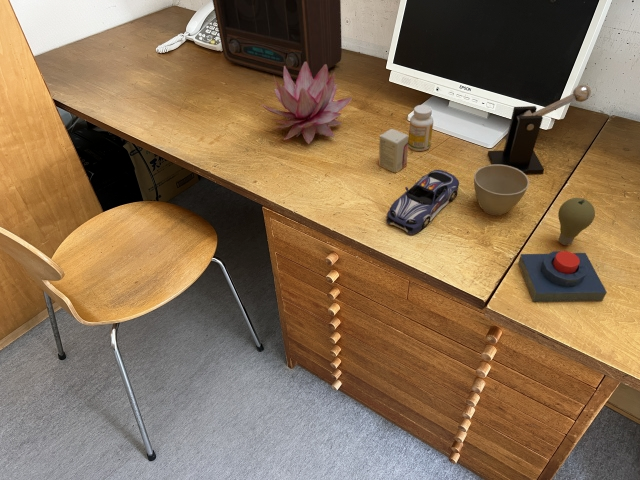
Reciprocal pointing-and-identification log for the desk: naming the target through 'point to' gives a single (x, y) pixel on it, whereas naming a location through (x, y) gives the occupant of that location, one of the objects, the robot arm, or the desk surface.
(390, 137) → the small box
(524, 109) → the black lever stand
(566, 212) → the light bulb
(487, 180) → the beige bowl
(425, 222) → the toy car
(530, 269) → the control block
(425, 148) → the supplement bottle
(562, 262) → the button
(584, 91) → the grey rod with ball
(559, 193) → the desk surface
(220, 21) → the radio
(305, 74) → the decorative flower
